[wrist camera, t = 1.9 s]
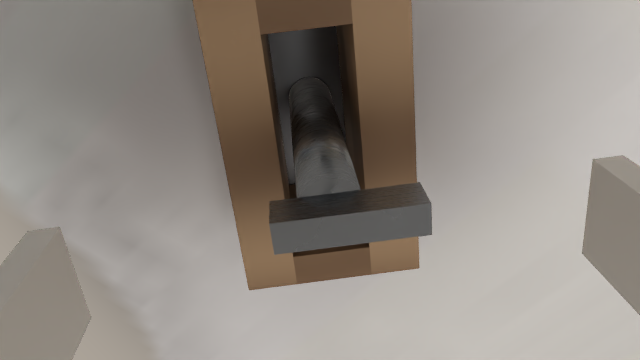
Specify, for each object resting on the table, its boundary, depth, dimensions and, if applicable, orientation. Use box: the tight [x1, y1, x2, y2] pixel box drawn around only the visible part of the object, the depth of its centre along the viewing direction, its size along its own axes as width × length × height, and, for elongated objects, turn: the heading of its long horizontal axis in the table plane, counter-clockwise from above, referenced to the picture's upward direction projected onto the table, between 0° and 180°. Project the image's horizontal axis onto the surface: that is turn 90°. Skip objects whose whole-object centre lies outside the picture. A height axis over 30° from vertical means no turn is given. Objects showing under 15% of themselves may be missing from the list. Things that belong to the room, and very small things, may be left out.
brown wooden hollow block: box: [193, 0, 419, 290], centre depth 22 cm, size 12×6×6 cm, turn 6°
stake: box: [269, 77, 432, 255], centre depth 19 cm, size 2×4×11 cm, turn 96°
